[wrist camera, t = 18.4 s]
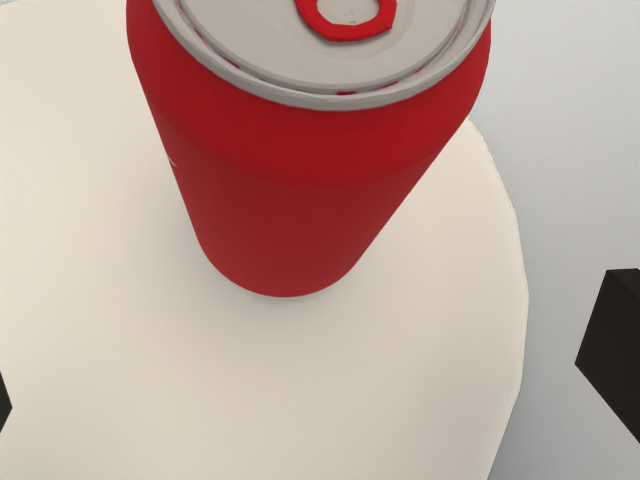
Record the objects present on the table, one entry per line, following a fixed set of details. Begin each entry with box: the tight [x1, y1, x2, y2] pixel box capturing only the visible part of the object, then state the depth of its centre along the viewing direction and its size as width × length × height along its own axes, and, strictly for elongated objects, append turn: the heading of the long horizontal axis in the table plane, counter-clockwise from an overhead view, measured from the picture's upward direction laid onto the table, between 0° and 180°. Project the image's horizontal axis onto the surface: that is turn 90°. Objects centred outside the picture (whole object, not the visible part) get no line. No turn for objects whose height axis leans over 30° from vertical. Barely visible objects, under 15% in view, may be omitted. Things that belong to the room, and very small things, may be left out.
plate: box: [0, 0, 529, 480], centre depth 19 cm, size 25×25×1 cm
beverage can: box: [126, 0, 496, 297], centre depth 13 cm, size 6×6×12 cm
